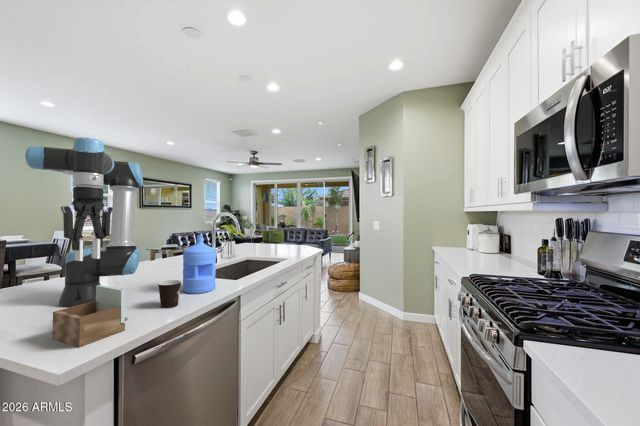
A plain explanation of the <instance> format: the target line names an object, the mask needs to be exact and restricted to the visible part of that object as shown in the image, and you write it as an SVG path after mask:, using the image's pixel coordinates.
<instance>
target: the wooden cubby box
mask: <svg viewBox="0 0 640 426" xmlns="http://www.w3.org/2000/svg"><path fill="white" fill-rule="evenodd" d="M125 330H126V322H123V323H120V307H119V306H117V307H114V308H110V309H107V310H103V311H100V312H96V301H93V302H89V303H85V304H81V305H77V306H73V307H65V308H62V309H59V310H56V311H55V310H54V311H52V340H54V341H58V342H61V343H63V344H64V343H65V344H68V345H70V346H73V347H76V346H77V347H76V348H79V347H80V348H82V347H84V345H85V346H88V345H90V344H92V343H95V342H98V341H101V340H104V339H105V338H108V337H111V336H114V335H116V334H120V333H122V332H124V331H125ZM87 344H88V345H87Z"/></svg>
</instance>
